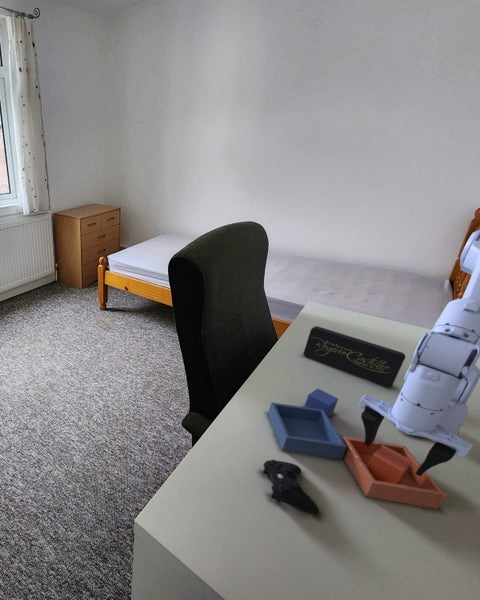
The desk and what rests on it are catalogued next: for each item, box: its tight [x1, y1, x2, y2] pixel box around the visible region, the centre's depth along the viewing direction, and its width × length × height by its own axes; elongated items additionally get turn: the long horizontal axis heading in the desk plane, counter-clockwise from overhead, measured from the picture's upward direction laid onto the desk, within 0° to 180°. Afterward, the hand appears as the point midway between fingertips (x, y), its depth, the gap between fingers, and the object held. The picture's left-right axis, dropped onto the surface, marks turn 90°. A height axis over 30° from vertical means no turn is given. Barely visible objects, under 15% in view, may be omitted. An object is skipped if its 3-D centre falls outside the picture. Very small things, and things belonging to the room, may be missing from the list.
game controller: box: [262, 459, 320, 515], centre depth 62 cm, size 10×5×7 cm
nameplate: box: [302, 325, 406, 388], centre depth 95 cm, size 21×2×10 cm, turn 41°
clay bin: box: [341, 436, 447, 510], centre depth 64 cm, size 11×11×4 cm
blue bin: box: [267, 402, 346, 460], centre depth 74 cm, size 11×11×4 cm
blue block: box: [303, 388, 339, 418], centre depth 80 cm, size 4×4×4 cm
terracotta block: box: [367, 445, 412, 484], centre depth 64 cm, size 4×4×4 cm
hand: (392, 457), depth 63 cm, fingers open, 7 cm apart
